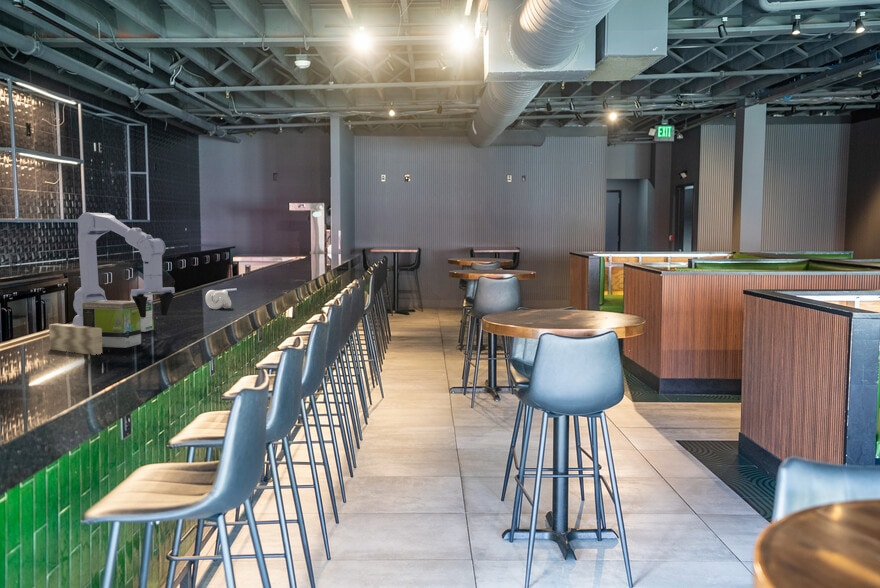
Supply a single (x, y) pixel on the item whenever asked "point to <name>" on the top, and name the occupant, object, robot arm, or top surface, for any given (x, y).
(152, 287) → the robot arm
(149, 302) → the syrup box
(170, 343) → the top surface
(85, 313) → the tea box
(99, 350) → the birch board
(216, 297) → the white curved lump
